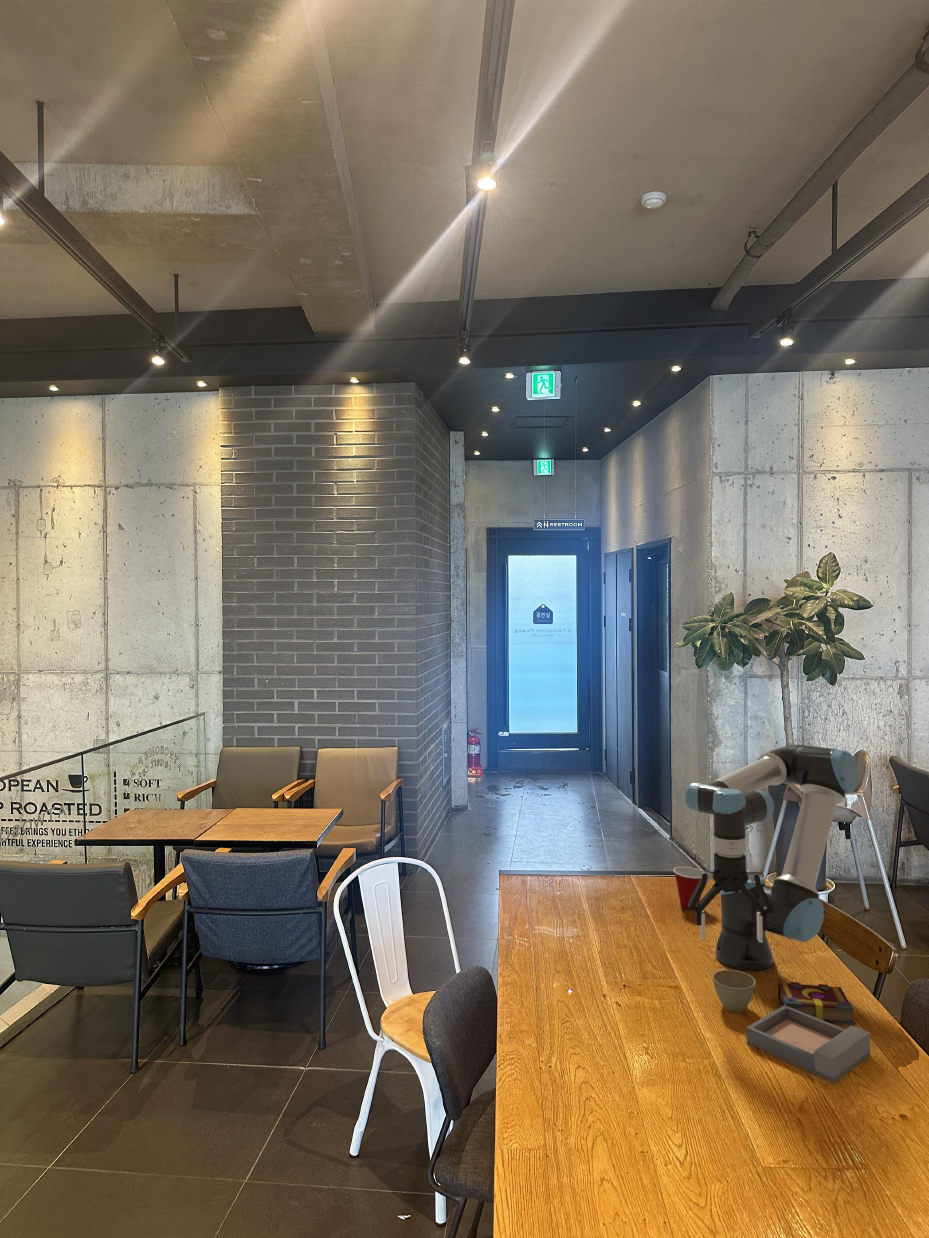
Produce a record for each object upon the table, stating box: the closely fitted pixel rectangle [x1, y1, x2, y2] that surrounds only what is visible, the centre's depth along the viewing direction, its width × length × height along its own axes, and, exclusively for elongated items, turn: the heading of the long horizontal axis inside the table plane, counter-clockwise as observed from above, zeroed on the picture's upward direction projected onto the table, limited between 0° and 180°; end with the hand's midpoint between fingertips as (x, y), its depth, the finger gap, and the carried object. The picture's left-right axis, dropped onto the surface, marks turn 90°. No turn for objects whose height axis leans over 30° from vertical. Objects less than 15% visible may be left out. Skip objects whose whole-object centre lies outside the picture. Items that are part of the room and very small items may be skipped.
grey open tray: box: [746, 1005, 871, 1084], centre depth 175 cm, size 16×20×5 cm
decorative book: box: [777, 981, 857, 1027], centre depth 191 cm, size 11×16×5 cm
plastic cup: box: [672, 866, 703, 911], centre depth 261 cm, size 11×11×12 cm
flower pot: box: [712, 969, 757, 1013], centre depth 194 cm, size 10×10×7 cm
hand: (731, 939), depth 194 cm, fingers open, 13 cm apart
